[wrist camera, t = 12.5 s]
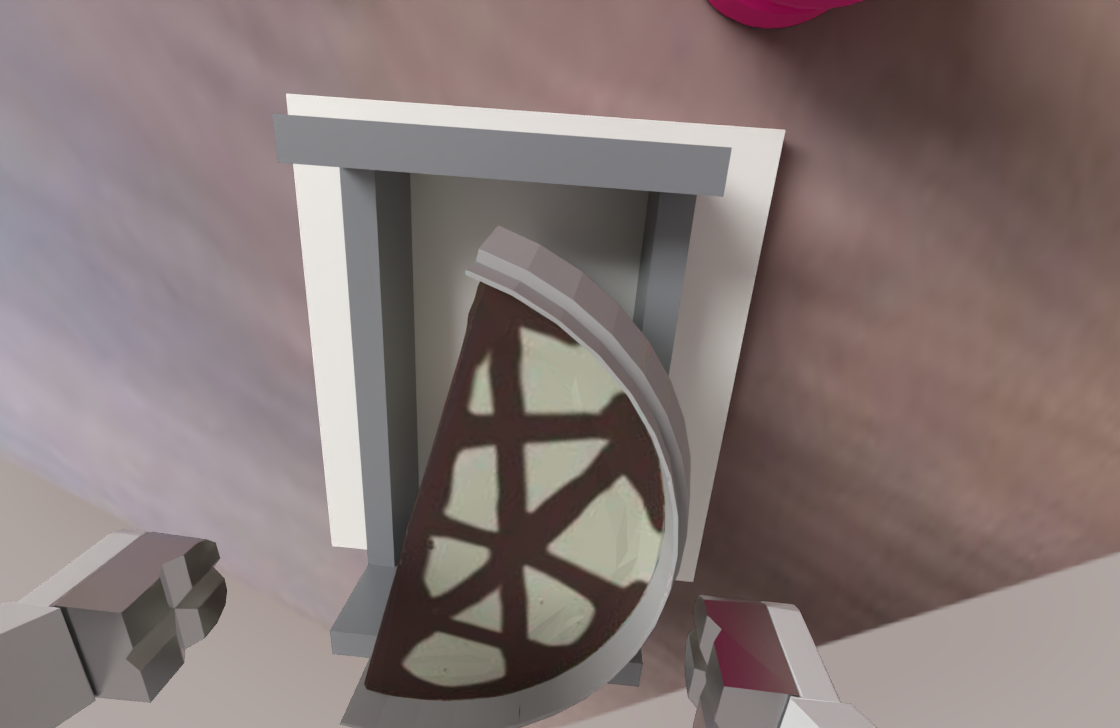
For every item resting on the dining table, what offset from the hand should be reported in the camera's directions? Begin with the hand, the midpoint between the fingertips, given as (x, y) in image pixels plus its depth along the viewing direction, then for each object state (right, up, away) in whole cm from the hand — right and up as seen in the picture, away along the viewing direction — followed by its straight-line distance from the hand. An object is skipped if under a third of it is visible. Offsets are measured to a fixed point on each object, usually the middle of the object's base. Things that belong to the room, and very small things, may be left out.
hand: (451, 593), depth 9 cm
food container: (+2, +3, +11) cm, 12 cm away
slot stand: (0, +4, +12) cm, 12 cm away
